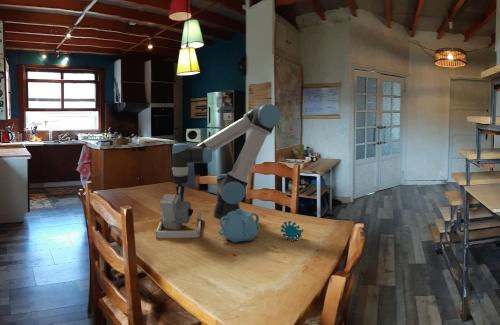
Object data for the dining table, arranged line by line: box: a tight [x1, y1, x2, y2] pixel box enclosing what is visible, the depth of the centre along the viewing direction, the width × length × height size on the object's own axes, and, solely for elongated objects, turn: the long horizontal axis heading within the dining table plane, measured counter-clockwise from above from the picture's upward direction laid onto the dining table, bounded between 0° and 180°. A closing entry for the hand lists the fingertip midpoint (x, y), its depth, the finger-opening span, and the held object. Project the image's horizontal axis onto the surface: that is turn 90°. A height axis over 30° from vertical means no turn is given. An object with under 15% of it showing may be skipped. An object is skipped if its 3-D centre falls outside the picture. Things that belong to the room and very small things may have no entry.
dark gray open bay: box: [159, 211, 202, 228], centre depth 204 cm, size 20×13×4 cm, turn 96°
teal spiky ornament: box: [280, 220, 305, 241], centre depth 183 cm, size 11×6×10 cm
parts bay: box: [155, 220, 202, 239], centre depth 190 cm, size 20×17×3 cm
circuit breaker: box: [159, 193, 194, 230], centre depth 194 cm, size 8×14×15 cm, turn 81°
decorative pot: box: [218, 208, 260, 244], centre depth 180 cm, size 16×16×14 cm
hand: (180, 221), depth 202 cm, fingers closed
